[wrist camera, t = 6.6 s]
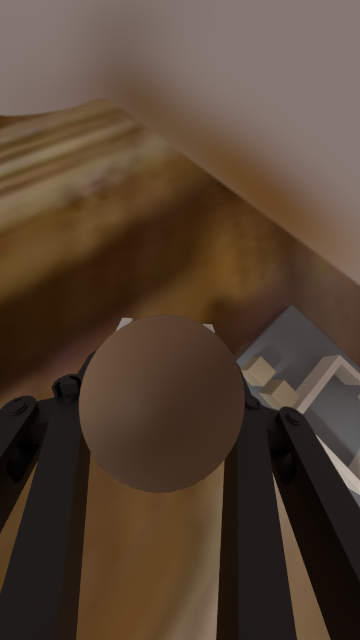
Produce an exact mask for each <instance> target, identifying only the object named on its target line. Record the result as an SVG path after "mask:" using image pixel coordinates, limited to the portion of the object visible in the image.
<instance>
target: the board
mask: <svg viewBox="0 0 360 640" xmlns="http://www.w3.org/2000/svg"><path fill="white" fill-rule="evenodd" d="M235 360H236V362H237V363H238V364H239V366H240V369H241V372H242V373H243V377H244V378H245V380H246V382H247V385H248V387H249V389H250V392H251V394H252V396H254V397H256V398H257V399H258V400H259V401H260V402H261V404H262V405H263V406H265V407H268V408H271V409H274V410H277V411H279V410H280V408H282V407H285V406H288V407H292V408H294V409H296V410H298V411H299V412H300V413H301V414H303V416H304V417H305V418H306V420H307V421H308V423H309V425H310V426H311V428H312V429H313V431H314V433H315V434H316V436H317V438H318V439H319V441H320V443H321V444H322V446H323V448H324V449H325V451H326V453H327V454H328V456H329V458H330V459H331V461H332V463H333V464H334V466H335V468H336V469H337V471H338V472H339V474H340V476H341V477H342V479H343V481H344V482H345V484H346V486H347V487H348V489H349V491H350V492H351V494H352V496H353V497H354V499H355V501H356V502H357V504H358V506H359V507H360V367H359V366H358V365H357V364H356V363H355V362H354V361H353V360H352V359H350V358H349V357H348V356H347V355H346V354H345V353H344V352H343V351H342V350H341V349H340V348H339V347H338V346H337V345H335V344H334V343H333V342H332V341H331V340H330V339H329V338H328V337H327V336H326V335H325V334H324V333H323V332H321V331H320V330H319V329H318V328H317V327H316V326H315V325H314V324H313V323H312V322H311V321H310V320H309V319H308V318H306V317H305V316H304V315H303V314H302V313H301V312H300V311H299V310H298V309H297V308H296V307H295V306H294V305H290V306H288V307H286V308H285V309H284V310H283V311H282V312H281V313H280V314H279V315H278V316H277V317H276V318H275V319H274V320H273V321H272V322H271V323H270V324H269V325H268V326H267V327H266V328H265V329H264V330H263V331H262V332H261V333H260V334H259V335H258V337H257V338H256V339H255V340H254V341H253V342H252V343H251V344H250V345H249V346H248V347H247V348H246V349H245V350H244V351H243V352H242V353H241V354H240V355H239V356H238V357H237V358H236V359H235Z"/></svg>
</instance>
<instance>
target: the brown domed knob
mask: <svg viewBox="0 0 360 640" xmlns="http://www.w3.org/2000/svg"><path fill="white" fill-rule="evenodd" d="M244 408H245V394H244V385H243V380H242V376H241V373H240V370H239V367H238V364H237V362H236V360H235V358H234V356H233V354H232V353H231V351H230V350H229V348H228V347H227V346H226V344H225V343H224V342H223V341H222V340H221V339H220V338H219V337H218V336H217V335H216V334H215V333H214V332H213V331H211V330H210V329H209V328H207V327H206V326H204V325H202V324H200V323H199V322H196V321H194V320H191V319H189V318H185V317H181V316H175V315H154V316H148V317H144V318H141V319H138V320H135V321H132V322H131V323H129V324H127V325H125V326H123V327H121V328H120V329H119V330H117V331H116V332H114V333H113V334H112V335H111V336H110V337H109V338H107V339H106V340H105V342H104V343H103V344H102V345H101V346H100V347H99V349H98V350H97V351H96V353H95V354H94V356H93V357H92V359H91V361H90V363H89V365H88V367H87V369H86V372H85V375H84V377H83V381H82V385H81V389H80V397H79V416H80V424H81V428H82V432H83V436H84V438H85V441H86V443H87V446H88V448H89V450H90V451H91V453H92V455H93V456H94V458H95V459H96V461H97V462H98V463H99V464H100V465H101V467H102V468H103V469H104V470H105V471H106V472H107V473H109V474H110V475H111V476H112V477H113V478H115V479H117V480H118V481H120V482H121V483H123V484H125V485H127V486H130V487H132V488H134V489H138V490H142V491H146V492H157V493H160V492H172V491H176V490H180V489H184V488H186V487H189V486H191V485H194V484H196V483H197V482H199V481H201V480H202V479H204V478H206V477H207V476H208V475H209V474H211V473H212V472H213V471H214V470H215V469H216V468H217V467H218V466H219V465H220V464H221V463H222V462H223V461H224V459H225V458H226V457H227V455H228V454H229V453H230V451H231V449H232V447H233V445H234V444H235V442H236V439H237V437H238V434H239V432H240V429H241V425H242V421H243V416H244Z"/></svg>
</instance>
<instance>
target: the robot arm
mask: <svg viewBox="0 0 360 640" xmlns="http://www.w3.org/2000/svg"><path fill="white" fill-rule="evenodd" d="M131 322H132V318H122V320H121V322H120V324H119V326H118V328H117V330H119V329H120V328H121V327H123V326H125V325H127V324H129V323H131ZM203 325H204V326H206V327H207V328H209V329H210V330H211V331H213V332H214V333H215V331H214V328H213V325H212V324H203ZM117 330H116V331H117ZM95 353H96V351H94V352H93V353H92V354H90V355H89V356H88V358H87V359H86V361H85V363H84V364H83V366H82V368H81V369H80V371H79V372H78V374H69V375H65V376H63V377H61V378H59V379H58V380H57V381H55V382H54V384H53V385H52V390H53V393H54V396H55V397H54V398H50V399H46V400H41V401H36V399H35V398H34V397H32V396H21V397H18V398H15V399H13V400H11V401H10V402H8V403H7V404H6V405H5V406H3V407H2V408H1V410H0V533H1V531H2V529H3V527H4V525H5V523H6V521H7V519H8V517H9V515H10V513H11V511H12V509H13V507H14V505H15V503H16V502H17V500H18V498H19V496H20V494H21V492H22V490H23V488H24V486H25V484H26V482H27V480H28V478H29V476H30V474H31V472H32V470H33V468H34V467H35V465H36V463H37V461H38V463H37V466H36V470H35V473H34V477H33V480H32V484H31V488H30V491H29V495H28V498H27V502H26V505H25V509H24V512H23V516H22V519H21V523H20V526H19V530H18V534H17V537H16V541H15V544H14V548H13V551H12V555H11V558H10V562H9V565H8V569H7V572H6V576H5V580H4V583H3V587H2V590H1V594H0V640H76V632H77V619H78V606H79V594H80V581H81V568H82V555H83V542H84V529H85V516H86V503H87V490H88V477H89V464H90V450H89V448H88V446H87V443H86V441H85V438H84V436H83V432H82V428H81V424H80V416H79V397H80V389H81V385H82V381H83V377H84V375H85V372H86V369H87V367H88V365H89V363H90V361H91V359H92V357H93V356H94V354H95ZM237 364H238V363H237ZM238 367H239V370H240V373H241V376H242V380H243V385H244V394H245V408H244V416H243V421H242V425H241V429H240V432H239V434H238V437H237V439H236V442H235V444H234V445H233V447H232V449H231V451H230V453H229V454H228V455H227V457H226V458H225V464H224V485H223V507H222V528H221V549H220V570H219V592H218V613H217V634H216V640H297V637H296V630H295V623H294V616H293V609H292V602H291V596H290V589H289V582H288V575H287V568H286V562H285V555H284V548H283V541H282V534H281V528H280V521H279V514H278V507H277V500H276V494H275V487H274V480H273V475H274V477H275V480H276V483H277V486H278V489H279V492H280V495H281V498H282V501H283V503H284V506H285V509H286V512H287V515H288V518H289V521H290V524H291V527H292V529H293V532H294V535H295V538H296V541H297V544H298V547H299V550H300V552H301V555H302V558H303V561H304V564H305V567H306V570H307V573H308V576H309V578H310V581H311V584H312V587H313V590H314V593H315V596H316V599H317V602H318V604H319V607H320V610H321V613H322V616H323V619H324V622H325V625H326V627H327V630H328V633H329V636H330V639H331V640H360V507H359V506H358V504H357V502H356V501H355V499H354V497H353V496H352V494H351V492H350V491H349V489H348V487H347V486H346V484H345V482H344V481H343V479H342V477H341V476H340V474H339V472H338V471H337V469H336V468H335V466H334V464H333V463H332V461H331V459H330V458H329V456H328V454H327V453H326V451H325V449H324V448H323V446H322V444H321V443H320V441H319V439H318V438H317V436H316V434H315V433H314V431H313V429H312V428H311V426H310V425H309V423H308V421H307V420H306V418H305V417H304V416H303V414H301V413H300V412H299V411H298V410H296V409H294V408H292V407H288V406H285V407H282V408H280V410H279V411H277V410H274V409H271V408H268V407H265V406H263V405H262V404H261V402H260V401H259V400H258V399H257V398H256V397H254V396H252V394H251V392H250V389H249V387H248V385H247V382H246V380H245V378H244V377H243V373H242V372H241V369H240V366H239V364H238ZM272 472H273V473H272Z"/></svg>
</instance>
